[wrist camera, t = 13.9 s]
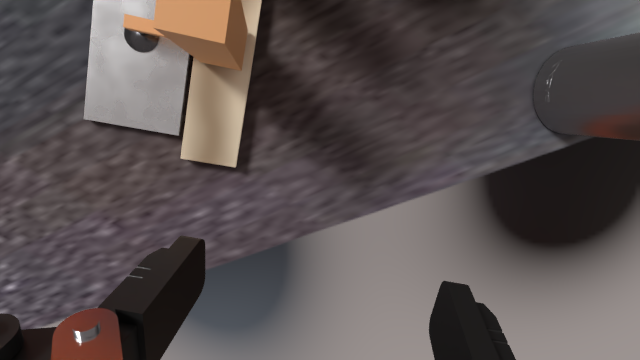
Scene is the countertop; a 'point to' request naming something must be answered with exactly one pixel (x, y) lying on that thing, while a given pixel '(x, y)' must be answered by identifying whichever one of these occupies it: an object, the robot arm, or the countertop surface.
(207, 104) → the rail
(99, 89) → the bolt plate
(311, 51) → the countertop surface
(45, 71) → the countertop surface
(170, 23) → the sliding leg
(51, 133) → the countertop surface
